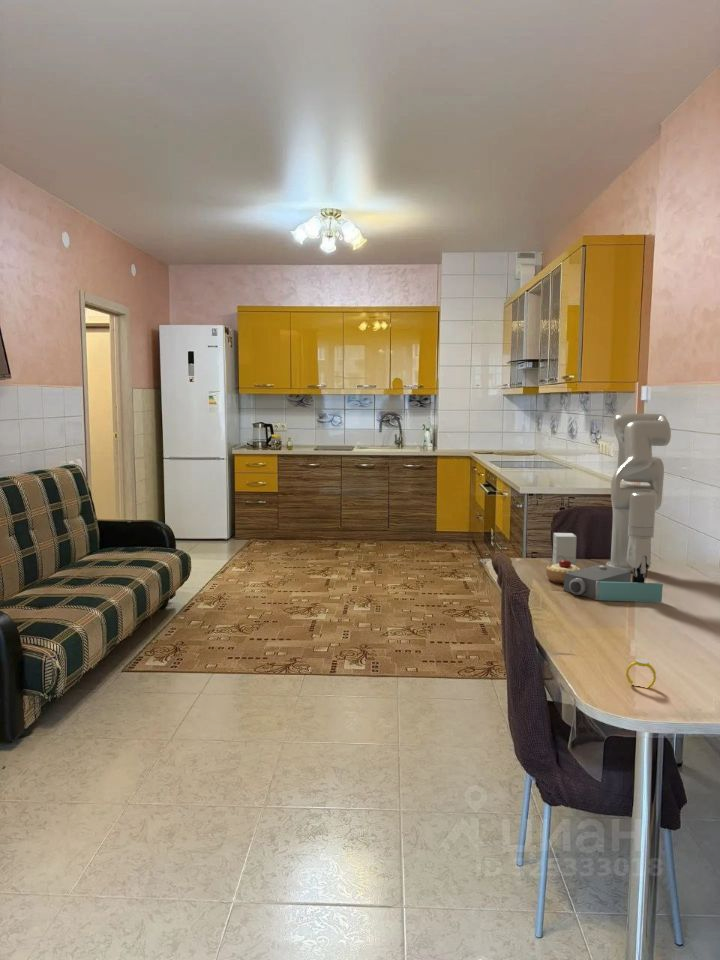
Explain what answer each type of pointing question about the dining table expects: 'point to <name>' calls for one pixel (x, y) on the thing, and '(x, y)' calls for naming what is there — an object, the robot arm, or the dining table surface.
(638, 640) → the dining table surface
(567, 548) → the supplement box
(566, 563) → the pastry
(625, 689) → the dining table surface
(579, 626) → the dining table surface
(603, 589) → the side door
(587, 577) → the camera body
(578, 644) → the dining table surface
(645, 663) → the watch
